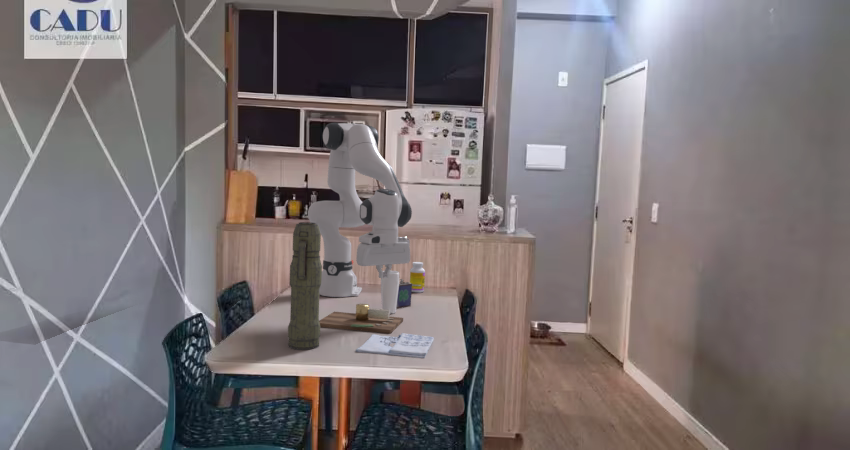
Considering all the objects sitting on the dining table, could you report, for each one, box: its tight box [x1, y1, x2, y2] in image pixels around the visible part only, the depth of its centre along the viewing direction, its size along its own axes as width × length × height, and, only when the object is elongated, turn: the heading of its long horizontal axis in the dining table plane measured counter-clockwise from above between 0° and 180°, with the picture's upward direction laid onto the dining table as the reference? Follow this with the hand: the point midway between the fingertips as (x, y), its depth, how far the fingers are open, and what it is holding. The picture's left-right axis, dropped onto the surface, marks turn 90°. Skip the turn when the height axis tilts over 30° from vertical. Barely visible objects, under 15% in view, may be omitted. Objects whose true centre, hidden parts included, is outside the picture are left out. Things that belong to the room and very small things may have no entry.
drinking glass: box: [380, 270, 401, 315], centre depth 205 cm, size 7×7×15 cm
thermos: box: [287, 221, 323, 351], centre depth 159 cm, size 9×12×35 cm
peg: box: [355, 303, 391, 321], centre depth 188 cm, size 11×4×5 cm, turn 79°
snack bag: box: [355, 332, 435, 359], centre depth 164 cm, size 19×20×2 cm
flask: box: [396, 278, 413, 309], centre depth 216 cm, size 9×3×11 cm, turn 134°
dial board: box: [319, 311, 404, 334], centre depth 187 cm, size 18×25×2 cm
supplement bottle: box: [409, 261, 426, 294], centre depth 248 cm, size 7×7×13 cm
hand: (383, 277), depth 191 cm, fingers closed
